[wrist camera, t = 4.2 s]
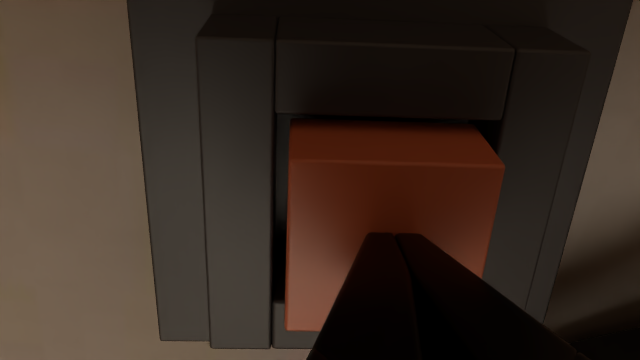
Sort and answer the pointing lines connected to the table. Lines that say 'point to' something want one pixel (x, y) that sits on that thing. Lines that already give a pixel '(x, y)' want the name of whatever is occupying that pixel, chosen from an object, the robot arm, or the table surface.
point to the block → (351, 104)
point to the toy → (611, 346)
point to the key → (380, 199)
